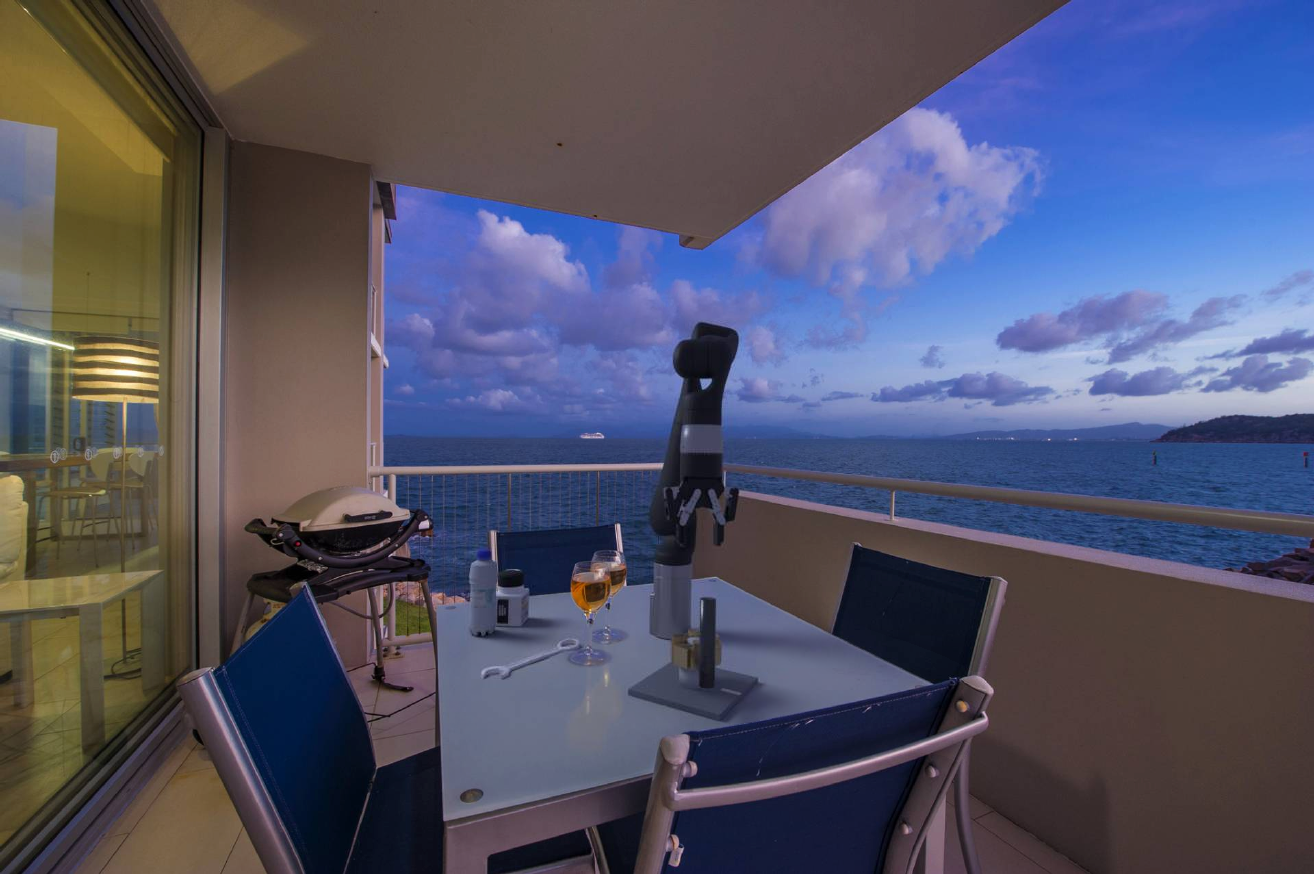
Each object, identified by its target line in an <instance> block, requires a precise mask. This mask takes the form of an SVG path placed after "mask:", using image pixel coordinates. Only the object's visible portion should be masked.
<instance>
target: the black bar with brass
mask: <svg viewBox="0 0 1314 874" xmlns="http://www.w3.org/2000/svg"><path fill="white" fill-rule="evenodd" d="M716 618H717V598H715V597H711V596H705V597H704V596H703V597H700V598H699V629H698V628H697V627H695V628H693V627H691V628H688V633H684V634H672V637H671V638H670V639H669V641H670V643H669V644H670V646H669V649H670V650H669V657H670V662H672V663H674V665H676V666H679V667H682V668H685V669H688V668H690V670H695V672H696V675H697V677H698V680H699V686H700V687H701V688H702V690H713V688H714V687H715V668H717V667H718V666H719V665H721V664H722V642H721V640H720V635H719V634H718V633H717V632H716V630H717V628H716V627H717V624H716V623H717V619H716ZM691 637H699V638H700V640H693V645H690V644H687V639H688V638H691Z"/></svg>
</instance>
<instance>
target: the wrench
mask: <svg viewBox="0 0 1314 874" xmlns="http://www.w3.org/2000/svg"><path fill="white" fill-rule="evenodd" d="M570 644H571V646H567V647H565V646H564V645H570ZM580 645H581V644H580V640H579V639H576V638H566V639H562V640H561V641H559V642H558V643H557V645H556V646H557V647H554V648H551V649H548V650H544V651H542V652H540V653H538V654H535V655H532V656H529V657H526V658H524V659H521V660H518V661H514V662H512V663H509V664H506V665H503V666H502V665H495V666H490V667H486V668H484V669H482V670H481V672H480V677H481V678H482V679H484V678H486V676H487V675H492V674H499V675H500V680H503V679H505V678H506V677H508V676H510V672H512V671H513V670H517V669H519V668H522V667H524V666H527V665H530V664H532V663H536V662H538V661H540V660H543V659H546V658H548V657H551V656H553V655H556V654H560V653H561V652H566V651H568V652H569V651H575V650H577V649H579V648H580Z"/></svg>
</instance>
